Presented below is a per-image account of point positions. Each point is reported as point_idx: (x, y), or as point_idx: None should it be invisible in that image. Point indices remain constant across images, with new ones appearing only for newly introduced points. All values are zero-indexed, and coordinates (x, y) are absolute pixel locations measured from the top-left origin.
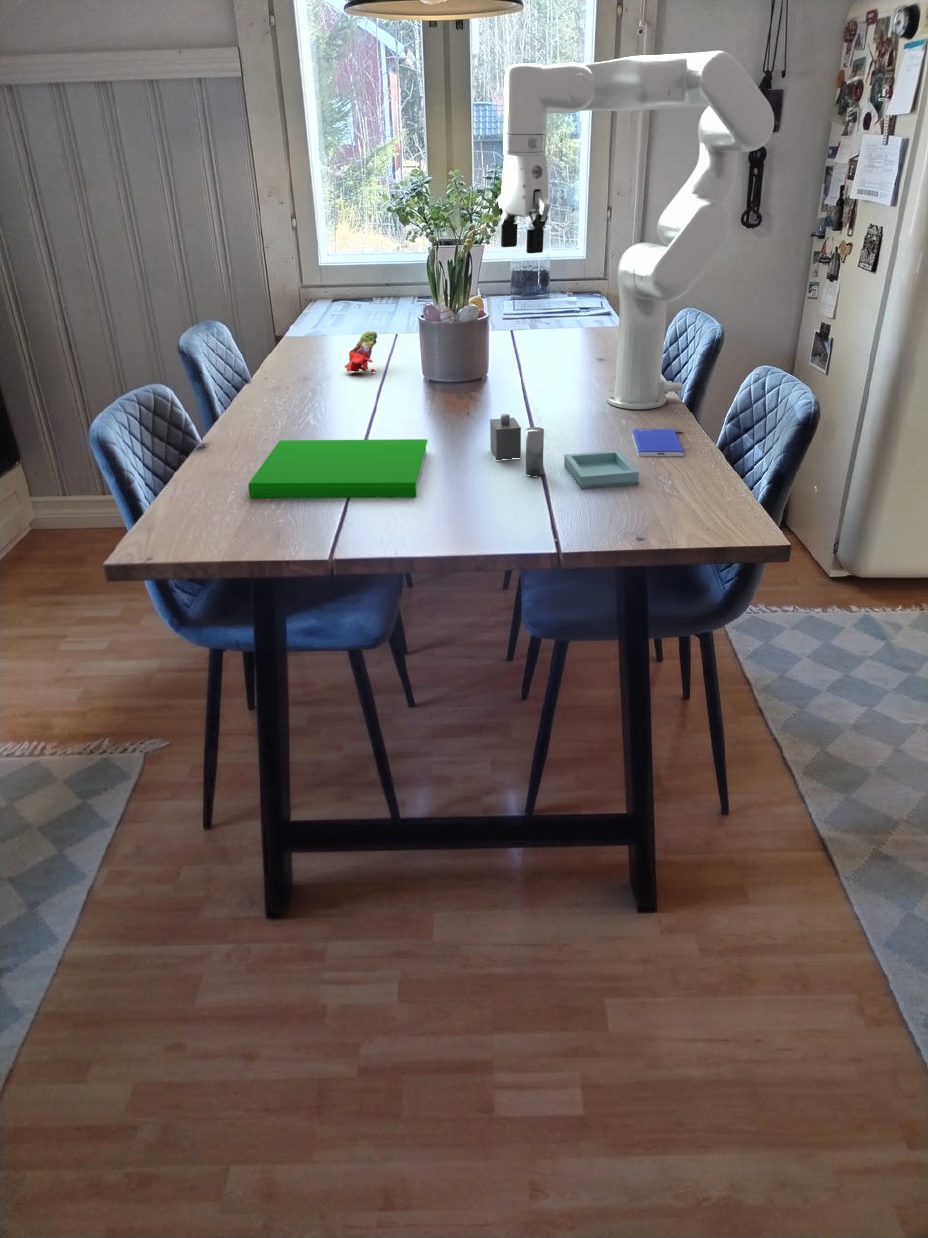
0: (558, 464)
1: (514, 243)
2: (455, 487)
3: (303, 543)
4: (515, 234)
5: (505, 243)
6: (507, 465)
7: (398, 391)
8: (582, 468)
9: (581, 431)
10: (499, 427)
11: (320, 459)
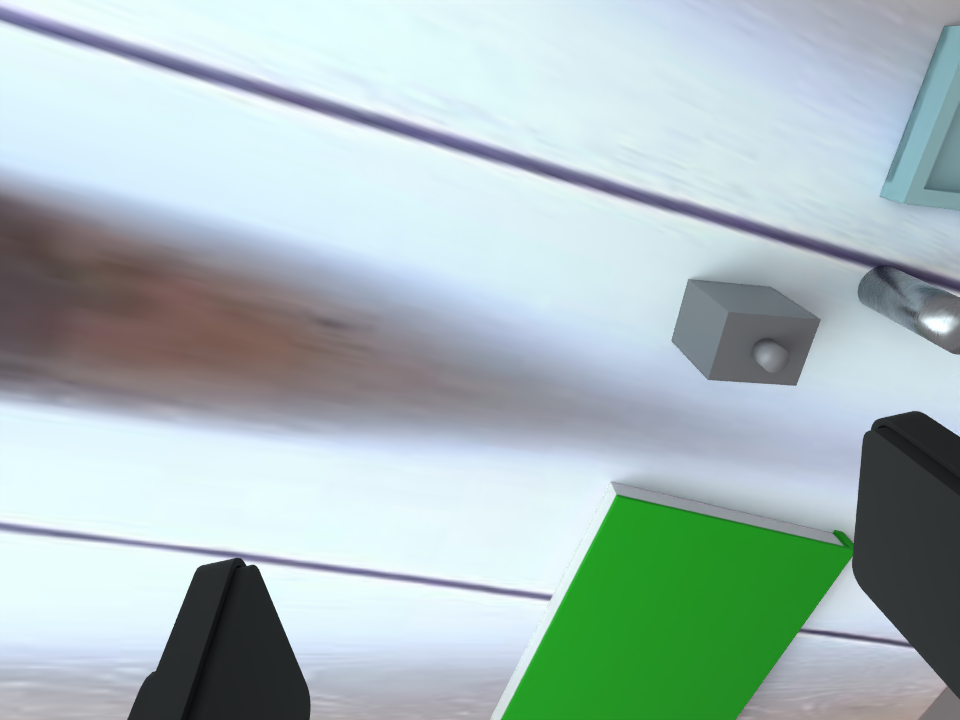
0: (857, 204)
1: (257, 606)
2: (842, 460)
3: (902, 681)
4: (233, 700)
5: (298, 708)
6: None
7: (11, 477)
8: (945, 164)
9: (647, 14)
10: (785, 373)
11: (640, 685)
